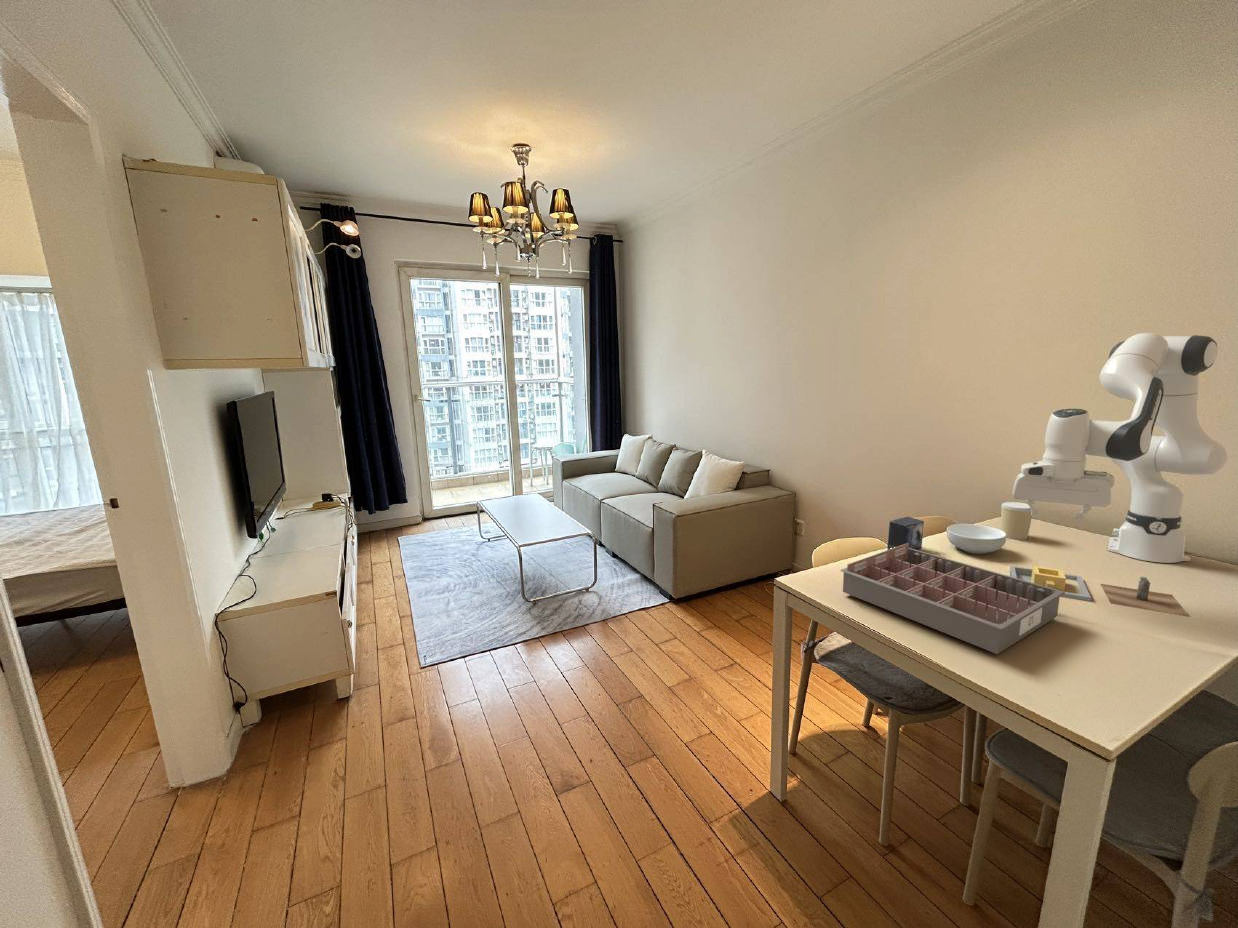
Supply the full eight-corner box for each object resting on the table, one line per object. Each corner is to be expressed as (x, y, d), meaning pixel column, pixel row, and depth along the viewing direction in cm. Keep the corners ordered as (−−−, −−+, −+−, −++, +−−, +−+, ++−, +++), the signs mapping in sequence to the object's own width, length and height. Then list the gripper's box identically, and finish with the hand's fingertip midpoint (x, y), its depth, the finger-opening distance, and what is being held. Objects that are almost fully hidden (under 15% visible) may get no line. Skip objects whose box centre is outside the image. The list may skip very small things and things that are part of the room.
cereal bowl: (958, 538, 184) (960, 520, 183) (1012, 551, 170) (1015, 531, 169) (936, 549, 175) (937, 529, 174) (991, 563, 161) (993, 542, 160)
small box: (904, 554, 171) (906, 525, 169) (886, 549, 176) (888, 520, 174) (922, 548, 175) (925, 520, 173) (905, 543, 181) (907, 515, 179)
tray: (1009, 573, 153) (1010, 565, 152) (1079, 584, 144) (1080, 576, 143) (1012, 592, 140) (1013, 584, 140) (1089, 606, 131) (1091, 597, 131)
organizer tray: (999, 662, 109) (1003, 620, 107) (838, 596, 143) (839, 563, 141) (1061, 621, 124) (1066, 584, 123) (903, 570, 159) (905, 540, 157)
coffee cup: (1025, 533, 186) (1029, 502, 184) (1034, 541, 178) (1037, 509, 176) (995, 531, 190) (998, 500, 188) (1002, 539, 182) (1005, 507, 180)
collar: (1031, 580, 146) (1032, 565, 146) (1060, 585, 143) (1062, 570, 142) (1034, 592, 139) (1035, 577, 138) (1065, 598, 135) (1067, 582, 134)
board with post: (1099, 588, 141) (1102, 565, 139) (1171, 600, 133) (1175, 575, 131) (1109, 608, 129) (1113, 583, 128) (1189, 622, 121) (1194, 595, 120)
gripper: (1112, 470, 132) (1105, 520, 135) (1014, 464, 144) (1010, 510, 146) (1118, 474, 127) (1110, 526, 130) (1016, 468, 139) (1011, 516, 141)
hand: (1056, 517), depth 138 cm, fingers open, 8 cm apart
